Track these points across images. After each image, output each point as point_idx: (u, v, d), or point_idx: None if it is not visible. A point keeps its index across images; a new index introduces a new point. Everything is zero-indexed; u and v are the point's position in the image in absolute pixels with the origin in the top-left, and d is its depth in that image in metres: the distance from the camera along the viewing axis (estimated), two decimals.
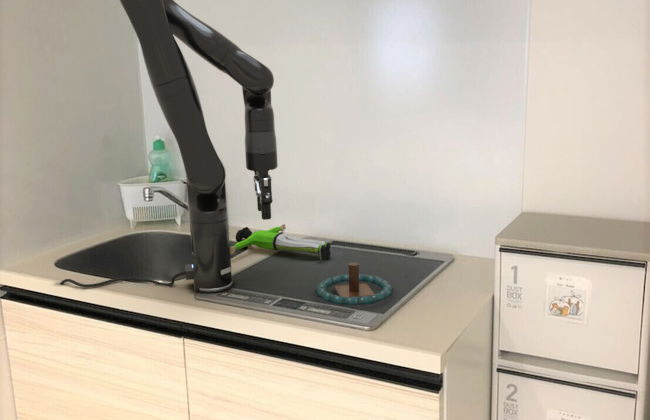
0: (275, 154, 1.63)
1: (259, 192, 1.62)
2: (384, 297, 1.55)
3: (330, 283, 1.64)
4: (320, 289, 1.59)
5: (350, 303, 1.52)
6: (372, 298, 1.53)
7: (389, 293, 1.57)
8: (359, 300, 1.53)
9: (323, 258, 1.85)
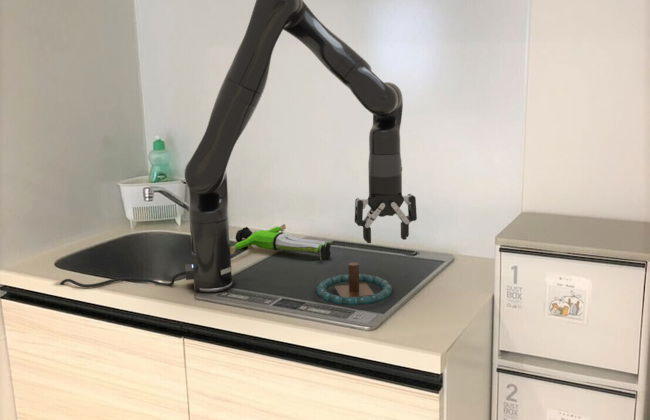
0: (380, 180, 1.53)
1: (367, 213, 1.59)
2: (384, 297, 1.55)
3: (330, 283, 1.64)
4: (320, 289, 1.59)
5: (350, 303, 1.52)
6: (372, 298, 1.53)
7: (389, 293, 1.57)
8: (359, 300, 1.53)
9: (323, 258, 1.85)
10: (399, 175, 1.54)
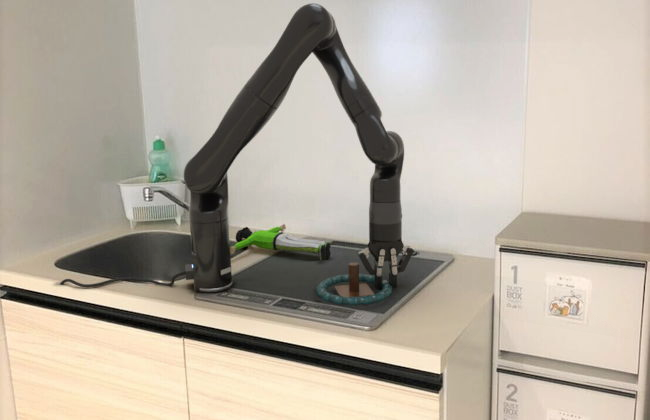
0: (380, 228, 1.55)
1: None
2: (384, 297, 1.55)
3: (330, 283, 1.64)
4: (320, 289, 1.59)
5: (350, 303, 1.52)
6: (372, 298, 1.53)
7: (389, 293, 1.57)
8: (359, 300, 1.53)
9: (323, 258, 1.85)
10: (399, 223, 1.56)
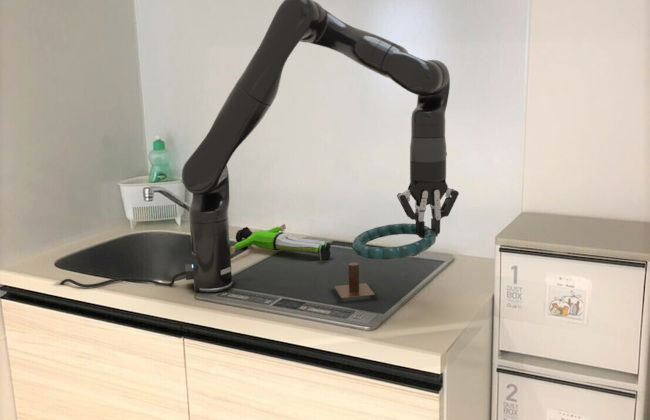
0: (424, 166, 1.41)
1: None
2: (428, 243, 1.41)
3: (367, 237, 1.50)
4: (357, 243, 1.45)
5: (392, 253, 1.38)
6: (415, 245, 1.39)
7: (433, 238, 1.43)
8: (401, 249, 1.38)
9: (323, 258, 1.85)
10: (443, 161, 1.42)
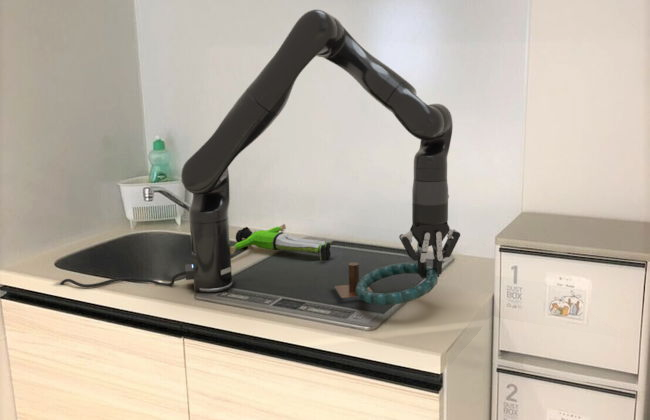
0: (426, 209, 1.42)
1: None
2: (430, 286, 1.42)
3: (369, 279, 1.52)
4: (360, 289, 1.47)
5: (395, 299, 1.40)
6: (417, 289, 1.41)
7: (435, 280, 1.44)
8: (404, 294, 1.40)
9: (323, 258, 1.85)
10: (445, 203, 1.43)
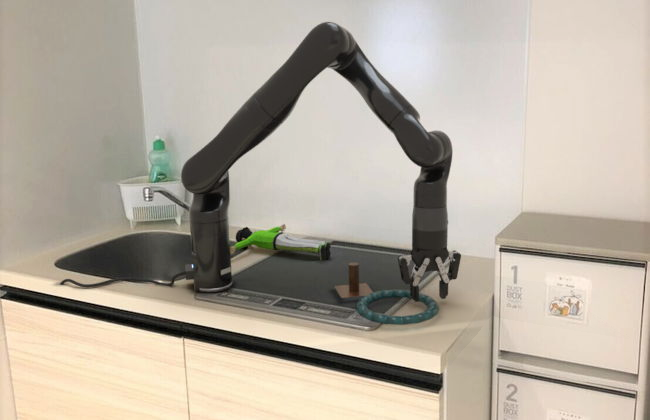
0: (425, 235, 1.44)
1: None
2: (431, 316, 1.44)
3: (370, 300, 1.53)
4: (361, 307, 1.48)
5: (395, 323, 1.41)
6: (419, 317, 1.42)
7: (436, 311, 1.46)
8: (405, 320, 1.41)
9: (323, 258, 1.85)
10: (445, 229, 1.45)
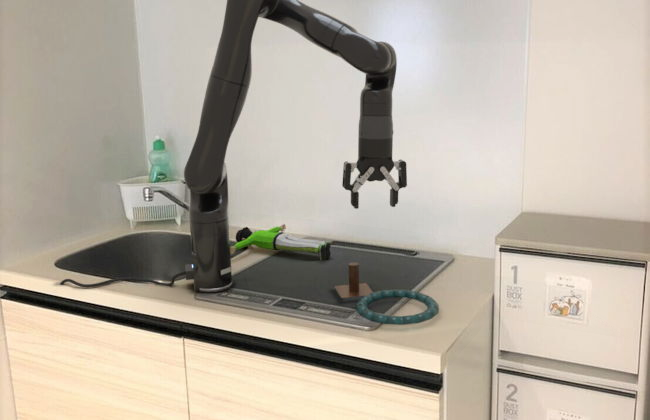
0: (370, 143, 1.47)
1: (356, 178, 1.53)
2: (431, 316, 1.44)
3: (370, 300, 1.53)
4: (361, 307, 1.48)
5: (395, 323, 1.41)
6: (419, 317, 1.42)
7: (436, 311, 1.46)
8: (405, 320, 1.41)
9: (323, 258, 1.85)
10: (389, 138, 1.48)
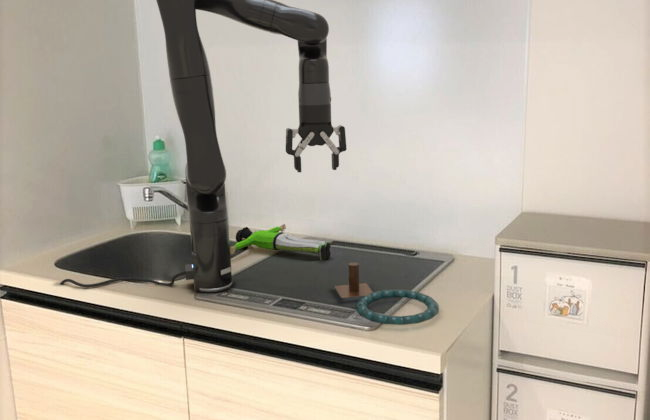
0: (308, 109, 1.57)
1: None
2: (431, 316, 1.44)
3: (370, 300, 1.53)
4: (361, 307, 1.48)
5: (395, 323, 1.41)
6: (419, 317, 1.42)
7: (436, 311, 1.46)
8: (405, 320, 1.41)
9: (323, 258, 1.85)
10: (327, 104, 1.58)
